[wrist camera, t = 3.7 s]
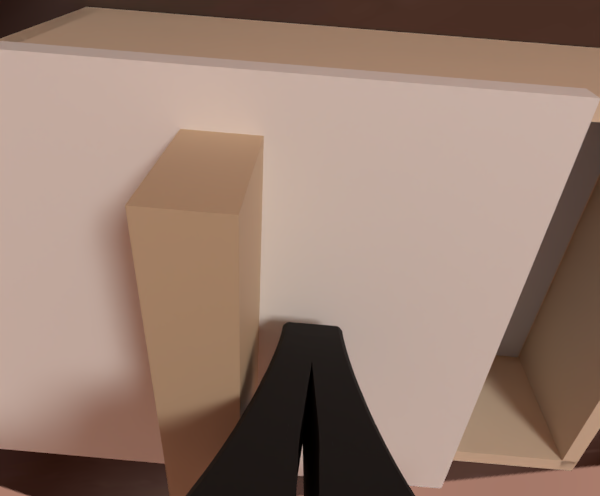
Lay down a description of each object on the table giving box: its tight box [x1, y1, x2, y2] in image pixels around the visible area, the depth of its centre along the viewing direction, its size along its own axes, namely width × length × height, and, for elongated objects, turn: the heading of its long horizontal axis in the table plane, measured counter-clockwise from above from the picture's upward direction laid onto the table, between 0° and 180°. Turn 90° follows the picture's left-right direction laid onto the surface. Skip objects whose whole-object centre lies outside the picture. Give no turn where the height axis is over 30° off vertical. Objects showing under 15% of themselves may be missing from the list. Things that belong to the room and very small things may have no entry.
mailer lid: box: [0, 41, 600, 496], centre depth 11 cm, size 16×12×4 cm
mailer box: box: [0, 7, 600, 471], centre depth 15 cm, size 16×12×5 cm
